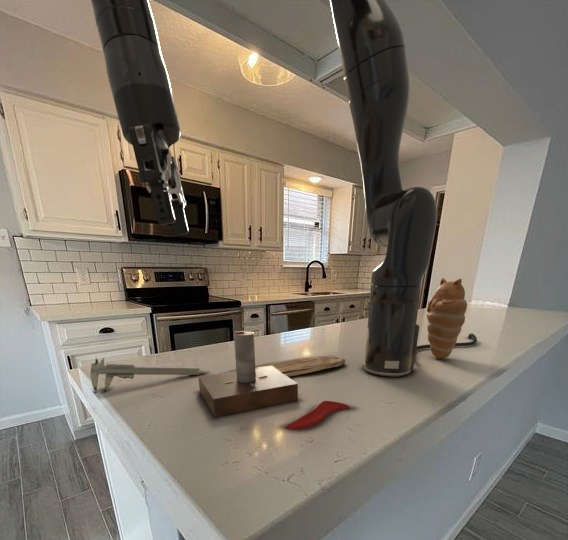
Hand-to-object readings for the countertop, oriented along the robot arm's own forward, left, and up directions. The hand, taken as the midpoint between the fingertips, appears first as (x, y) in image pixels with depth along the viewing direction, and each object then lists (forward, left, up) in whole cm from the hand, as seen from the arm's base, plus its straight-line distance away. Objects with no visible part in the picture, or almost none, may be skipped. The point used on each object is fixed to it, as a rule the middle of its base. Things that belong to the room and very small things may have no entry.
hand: (175, 229), depth 47 cm
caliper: (+6, -10, -27) cm, 29 cm away
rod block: (-8, +5, -26) cm, 28 cm away
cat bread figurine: (-56, +4, -27) cm, 62 cm away
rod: (-8, +5, -23) cm, 25 cm away
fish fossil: (-21, -5, -27) cm, 34 cm away
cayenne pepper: (-15, +17, -27) cm, 35 cm away
